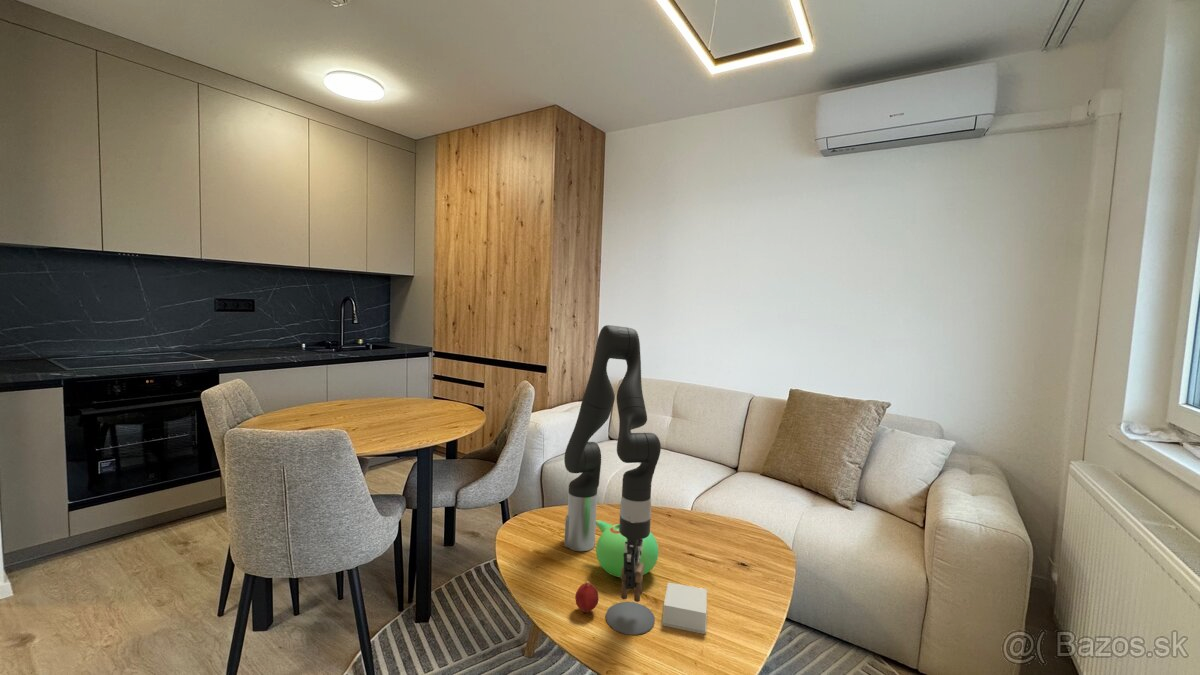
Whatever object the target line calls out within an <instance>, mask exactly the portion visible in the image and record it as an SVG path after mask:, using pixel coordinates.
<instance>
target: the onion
mask: <svg viewBox="0 0 1200 675" xmlns="http://www.w3.org/2000/svg"><path fill="white" fill-rule="evenodd" d="M574 598H575V604H576V606H577V607H578V609H580V610H581V611H582V612H583V613H586V614H588V613H590V612H591V611H593V610H594V609H595V608H596V607H597V605H598V604H599V603H598V602H599V598H600V597H599V592H598V590H597V588H596V587H595V586H594V585H593V583H591V582H590V581H588V580H587V581H586V582H585V583H583V584H581V585H580V586H579V587H578V589H577V591H576V593H575V597H574Z"/></svg>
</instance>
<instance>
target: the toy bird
mask: <svg viewBox="0 0 1200 675" xmlns="http://www.w3.org/2000/svg"><path fill="white" fill-rule="evenodd" d="M595 523H596V527H597V528H598V529H599V530H600V531H601V532H602V533H600V536H599V537H598V539H597V542H596V547H595V548H596V550H595V552H596V558H597V561H598V563H599V565H600V566H601V567H602V569H603V570H604V571H605V572H607V573H608V574H610V575H612V576H614V577H617V578H620V579H621V570H622V567H623V565H624V556H623V555H624V553H625V549H624V547H625V542H627V538H626V537H624V536H623V535H621V533H620V531H619V525H620V523H617V524H613V525H612V524H610V523H607V522H605V521H603V520H599V519H598V520H597V519H596V521H595ZM659 553H660V552H659V544H658V542H657V538H656V537H655V536H654V534H653V533H652V532H651V531H650V534H649V536H648V537H646V538H644V539H643V545H642V554H641V556H640V558H641V560H640V562H641V563H644V574H643V576H644V575H646V574H648V573H649V572H651V570H653V569H654V567H655V566H656V564H657V561H658V559H659Z"/></svg>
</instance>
